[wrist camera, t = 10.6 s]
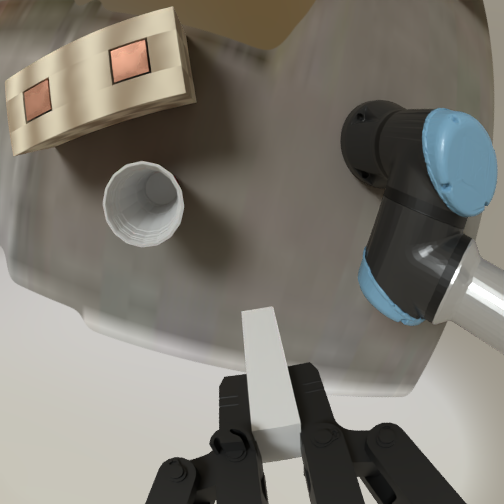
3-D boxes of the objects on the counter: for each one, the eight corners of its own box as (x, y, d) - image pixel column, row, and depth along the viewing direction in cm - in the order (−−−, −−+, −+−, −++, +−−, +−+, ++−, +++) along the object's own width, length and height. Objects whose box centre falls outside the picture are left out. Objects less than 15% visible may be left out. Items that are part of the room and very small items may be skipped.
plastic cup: (181, 143, 42) (164, 147, 31) (204, 206, 46) (197, 231, 35) (120, 168, 42) (88, 183, 31) (144, 228, 47) (122, 258, 36)
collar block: (185, 34, 34) (172, 6, 23) (196, 102, 39) (185, 92, 28) (45, 85, 34) (4, 81, 23) (54, 147, 39) (13, 156, 28)
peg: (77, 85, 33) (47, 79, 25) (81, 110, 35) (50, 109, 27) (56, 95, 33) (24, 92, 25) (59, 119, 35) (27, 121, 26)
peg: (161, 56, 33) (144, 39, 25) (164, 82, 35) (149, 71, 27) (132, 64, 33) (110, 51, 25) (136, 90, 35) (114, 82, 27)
